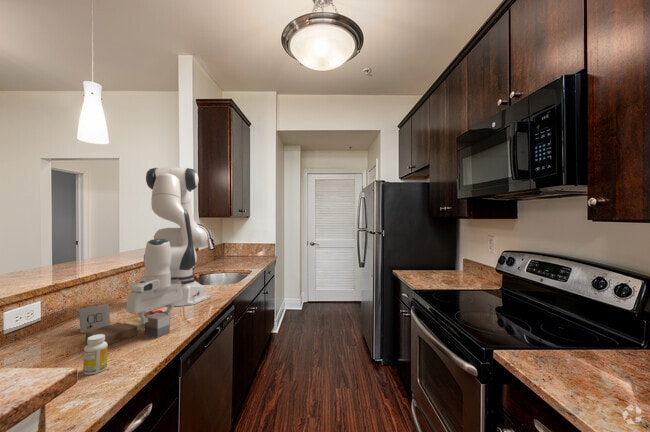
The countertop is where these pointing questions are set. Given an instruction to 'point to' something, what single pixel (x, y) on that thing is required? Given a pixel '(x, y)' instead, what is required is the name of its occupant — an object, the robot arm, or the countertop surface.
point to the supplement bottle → (95, 355)
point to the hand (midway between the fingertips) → (156, 319)
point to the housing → (157, 325)
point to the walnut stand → (114, 332)
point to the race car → (153, 312)
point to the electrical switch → (94, 317)
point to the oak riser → (136, 323)
